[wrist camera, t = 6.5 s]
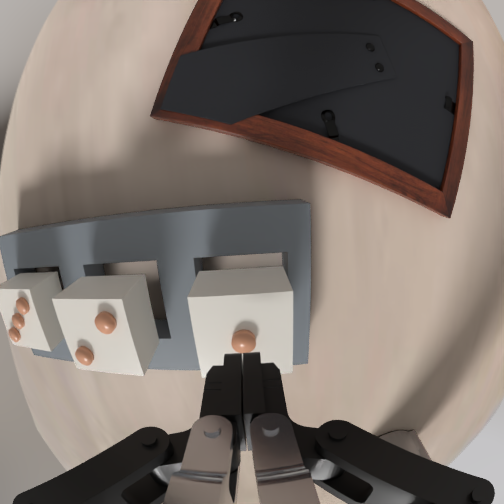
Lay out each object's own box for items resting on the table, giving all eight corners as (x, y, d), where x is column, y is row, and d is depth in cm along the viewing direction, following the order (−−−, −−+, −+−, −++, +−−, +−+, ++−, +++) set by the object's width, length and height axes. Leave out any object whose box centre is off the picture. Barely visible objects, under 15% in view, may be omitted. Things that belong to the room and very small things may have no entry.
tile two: (147, 271, 17) (119, 302, 13) (161, 338, 18) (142, 380, 14) (85, 274, 17) (47, 301, 13) (101, 336, 18) (74, 372, 14)
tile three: (60, 269, 18) (26, 291, 14) (76, 325, 20) (48, 354, 15) (23, 271, 18) (-10, 290, 14) (38, 322, 20) (10, 346, 15)
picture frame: (157, 120, 19) (438, 215, 21) (148, 115, 17) (452, 219, 19) (235, -50, 14) (463, 46, 16) (235, -62, 12) (474, 41, 14)
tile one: (281, 263, 17) (294, 294, 13) (283, 333, 19) (293, 377, 14) (200, 268, 17) (185, 300, 13) (209, 337, 18) (201, 382, 14)
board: (300, 199, 20) (310, 203, 17) (301, 342, 23) (307, 363, 20) (17, 229, 20) (-2, 236, 17) (48, 340, 23) (34, 354, 20)
